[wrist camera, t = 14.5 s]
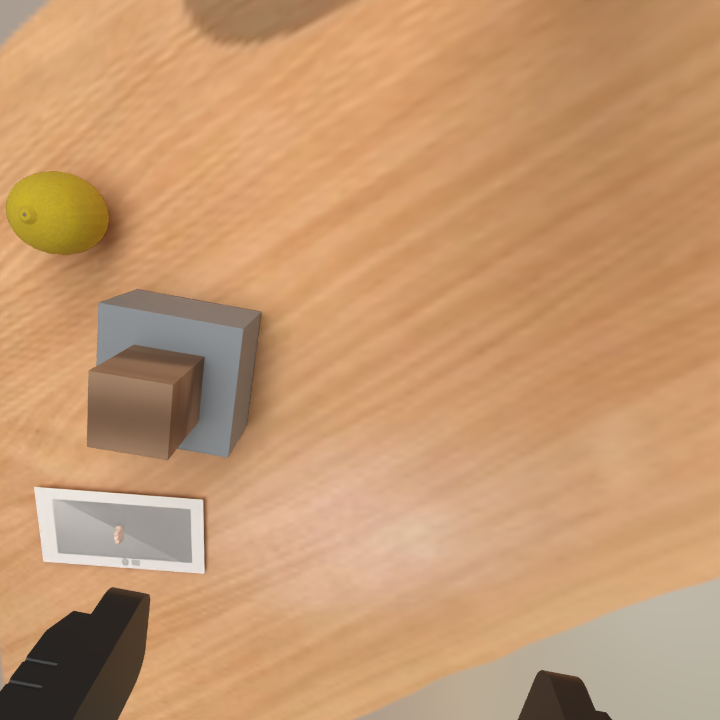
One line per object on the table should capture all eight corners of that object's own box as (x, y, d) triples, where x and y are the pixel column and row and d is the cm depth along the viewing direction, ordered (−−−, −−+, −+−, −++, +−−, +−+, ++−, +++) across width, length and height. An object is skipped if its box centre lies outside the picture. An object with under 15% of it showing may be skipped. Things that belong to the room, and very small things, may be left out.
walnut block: (133, 344, 36) (88, 370, 31) (204, 356, 36) (173, 385, 31) (130, 410, 38) (87, 446, 32) (198, 421, 38) (167, 460, 32)
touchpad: (41, 480, 47) (26, 493, 45) (206, 493, 47) (199, 506, 45) (50, 553, 49) (36, 569, 47) (208, 565, 49) (200, 581, 47)
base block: (136, 289, 41) (98, 302, 35) (261, 311, 42) (243, 328, 36) (130, 404, 44) (94, 434, 38) (246, 424, 44) (228, 457, 39)
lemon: (129, 252, 40) (72, 263, 33) (58, 246, 40) (-15, 256, 33) (125, 177, 39) (64, 170, 31) (51, 171, 39) (-28, 163, 31)
